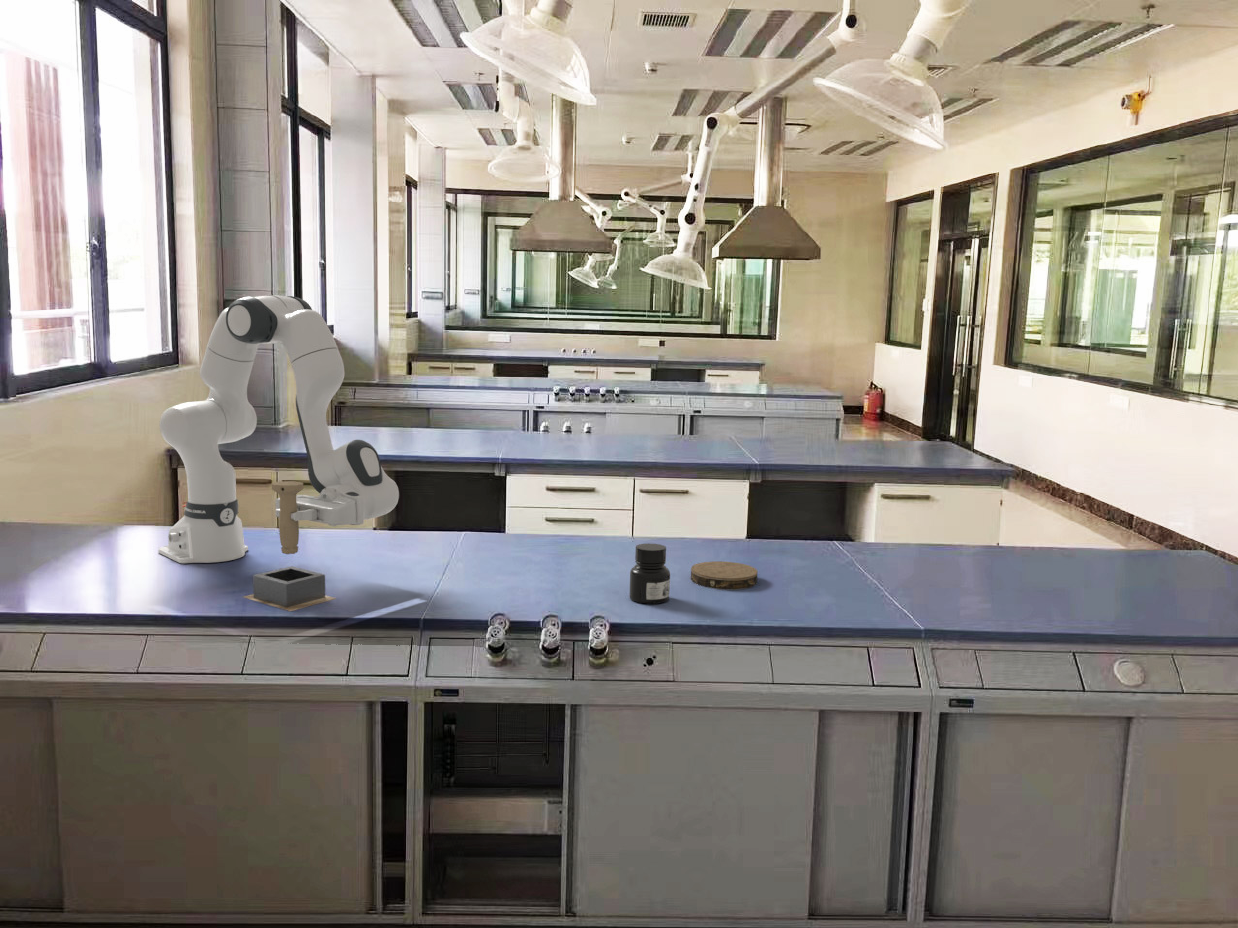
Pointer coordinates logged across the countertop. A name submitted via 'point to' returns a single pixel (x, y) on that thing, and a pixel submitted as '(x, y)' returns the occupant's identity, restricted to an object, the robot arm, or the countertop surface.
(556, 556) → the countertop surface
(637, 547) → the ink bottle
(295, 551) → the handle
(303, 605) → the base board
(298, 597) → the square frame
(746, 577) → the brown round disc
